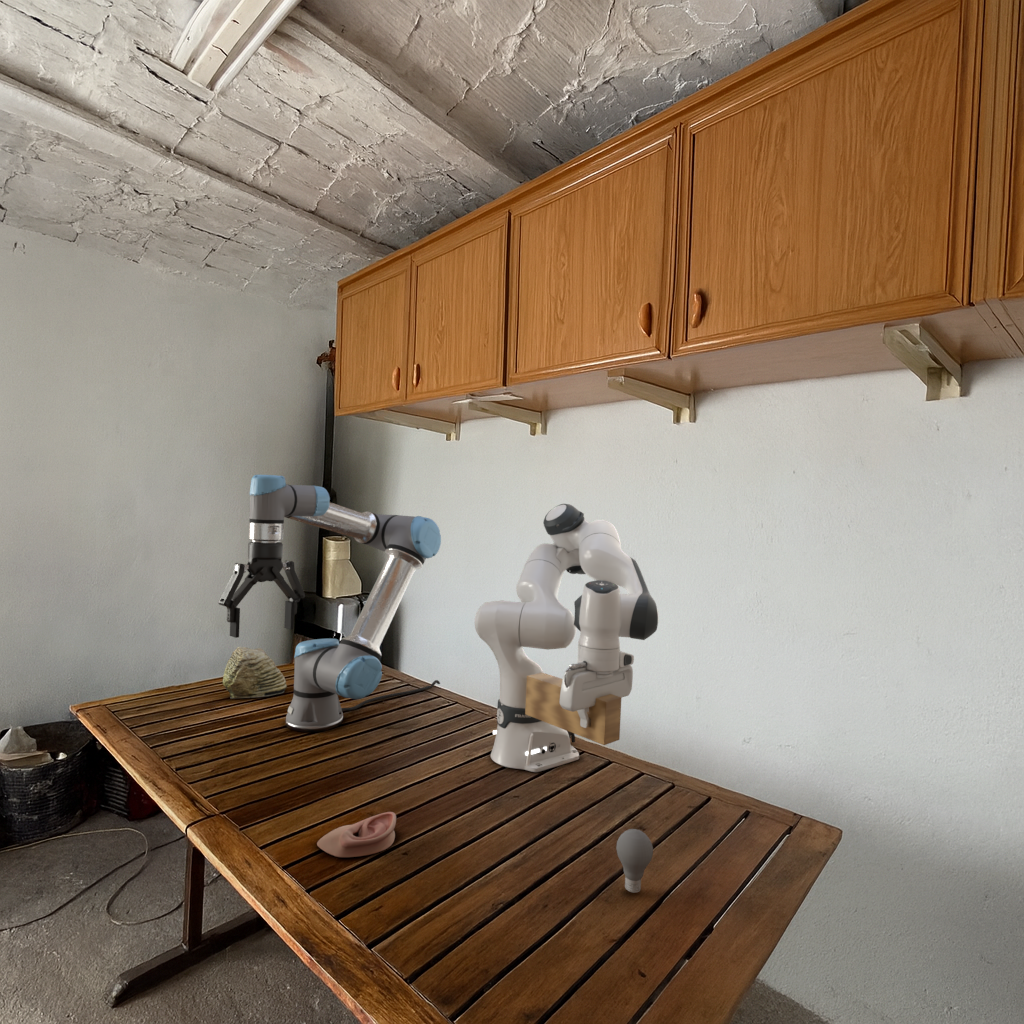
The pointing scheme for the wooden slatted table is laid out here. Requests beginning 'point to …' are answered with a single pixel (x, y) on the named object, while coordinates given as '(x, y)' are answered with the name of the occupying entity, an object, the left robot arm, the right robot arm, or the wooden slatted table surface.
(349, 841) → the anatomical model
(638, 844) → the light bulb
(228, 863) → the wooden slatted table surface
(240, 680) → the fossil
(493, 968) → the wooden slatted table surface
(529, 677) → the bar
